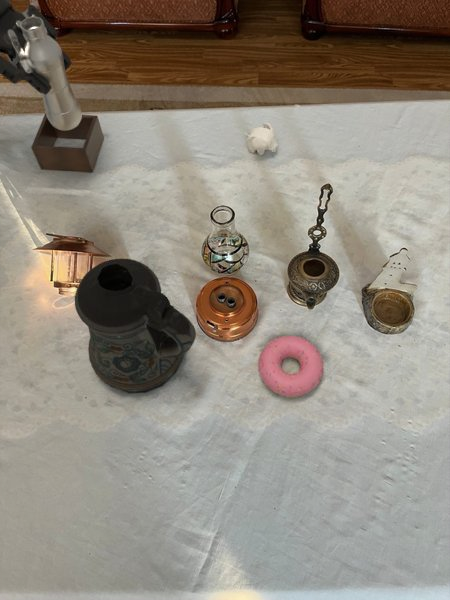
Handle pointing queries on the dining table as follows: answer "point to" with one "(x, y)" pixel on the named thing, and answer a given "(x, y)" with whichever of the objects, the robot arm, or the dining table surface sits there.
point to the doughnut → (293, 382)
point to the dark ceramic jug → (131, 326)
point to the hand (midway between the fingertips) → (59, 78)
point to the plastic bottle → (51, 74)
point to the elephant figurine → (262, 139)
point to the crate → (68, 156)
